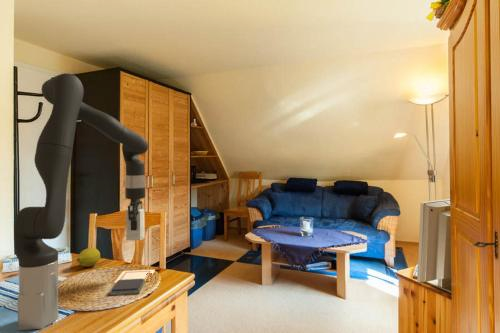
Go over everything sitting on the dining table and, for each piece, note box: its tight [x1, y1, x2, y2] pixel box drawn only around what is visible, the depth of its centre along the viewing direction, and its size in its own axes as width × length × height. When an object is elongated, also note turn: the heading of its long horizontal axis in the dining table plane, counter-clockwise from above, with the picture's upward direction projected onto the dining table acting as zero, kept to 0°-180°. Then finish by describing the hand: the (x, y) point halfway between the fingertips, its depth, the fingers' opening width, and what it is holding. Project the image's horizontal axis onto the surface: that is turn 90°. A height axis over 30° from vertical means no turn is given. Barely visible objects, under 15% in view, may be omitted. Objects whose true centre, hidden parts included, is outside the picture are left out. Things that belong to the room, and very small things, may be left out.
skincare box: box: [125, 208, 146, 241], centre depth 118 cm, size 6×4×12 cm
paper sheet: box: [113, 269, 156, 284], centre depth 118 cm, size 12×13×1 cm
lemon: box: [76, 247, 101, 268], centre depth 129 cm, size 11×8×8 cm
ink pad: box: [108, 279, 146, 296], centre depth 107 cm, size 10×10×2 cm
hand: (135, 228), depth 118 cm, fingers closed on skincare box, 5 cm apart
